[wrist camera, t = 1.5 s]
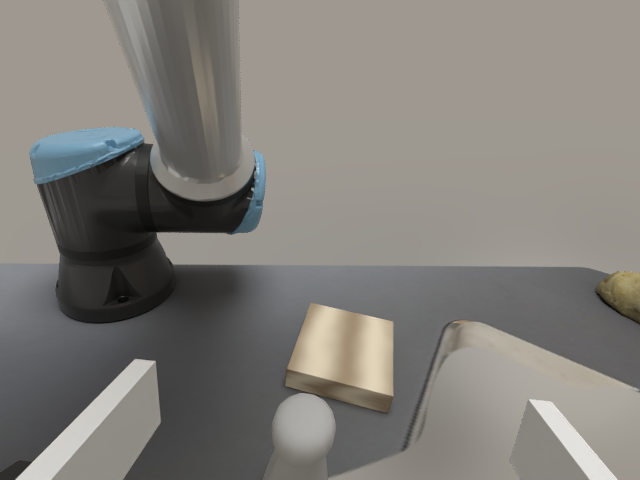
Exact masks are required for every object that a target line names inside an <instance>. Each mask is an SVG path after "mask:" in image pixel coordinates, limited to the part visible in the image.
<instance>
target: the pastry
mask: <svg viewBox="0 0 640 480" xmlns="http://www.w3.org/2000/svg"><path fill="white" fill-rule="evenodd" d="M596 292H597V293H598V294H599V295H600V297H601V298H603V300H605V302H607V303H608V304H609V305H611V306H612V307H613V308H614V309H616V310H617V311H618V312H619V313H620V314H622V315H623V316H625V317H629V318H630V319H632V320H634V321H635V322H637V323H639V324H640V273H633V272H630V271H625V272H619V271H617V272H616V273H613V274H611V275H609V276H608V277H606V278H605V279H604V280H603V281H601V282H600V284H599V285H598V287H597V290H596Z"/></svg>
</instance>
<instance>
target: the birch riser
mask: <svg viewBox="0 0 640 480" xmlns="http://www.w3.org/2000/svg"><path fill="white" fill-rule="evenodd" d="M285 386H286V387H290V388H294V389H298V390H301V391H305V392H309V393H313V394H317V395H320V396H324V397H328V398H332V399H335V400H339V401H343V402H347V403H350V404H354V405H358V406H362V407H366V408H369V409H373V410H377V411H381V412H384V413H387V412H388V410H389V407H390V404H391V401H392V398H393V322H392V321H388V320H384V319H379V318H375V317H371V316H366V315H362V314H357V313H353V312H349V311H344V310H340V309H336V308H331V307H327V306H322V305H318V304H314V303H311V304H310V307H309V310H308V312H307V315H306V318H305V321H304V323H303V326H302V329H301V332H300V334H299V337H298V340H297V343H296V345H295V348H294V351H293V354H292V356H291V359H290V362H289V364H288V367H287V373H286V383H285Z"/></svg>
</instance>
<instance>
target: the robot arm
mask: <svg viewBox="0 0 640 480" xmlns="http://www.w3.org/2000/svg"><path fill="white" fill-rule="evenodd" d="M103 2H104V5H105V7H106V10H107V12H108V15H109V18H110V20H111V23H112V25H113V28H114V31H115V33H116V35H117V38H118V41H119V44H120V46H121V49H122V52H123V54H124V56H125V59H126V62H127V64H128V67H129V70H130V72H131V75H132V78H133V80H134V83H135V86H136V88H137V91H138V93H139V96H140V98H141V101H142V104H143V106H144V109H145V112H146V114H147V117H148V119H149V122H150V125H151V127H152V130H153V133H154V135H155V138H156V140H155V142H154V144H145V143H144V137H143V136H142V134H141V132H140V131H138V130H136V129H130V128H124V127H111V128H110V127H109V128H95V129H84V130H77V131H70V132H64V133H60V134H55V135H52V136H48V137H45V138H43V139H40V140H38V141H37V142H36V143H34V144H33V146H32V147H31V149H30V160H31V164H32V169H33V174H34V183H35V184H37V187H38V190H39V192H40V196H41V198H42V201H43V204H44V207H45V210H46V213H47V216H48V219H49V222H50V225H51V228H52V231H53V234H54V237H55V240H56V243H57V246H58V249H59V252H60V263H59V278H58V281H57V284H56V296H57V299H58V302H59V305H60V307H61V309H62V311H63V312H64V313H65V314H66V315H68V316H69V317H71V318H74V319H76V320H80V321H85V322H112V321H118V320H123V319H127V318H130V317H134V316H137V315H139V314H142V313H144V312H146V311H148V310H150V309H152V308H154V307H156V306H157V305H159V304H160V303H161V302H163V301H164V300H165V299H166V298H167V297H168V296H169V295H170V294H171V292H172V291H173V289H174V287H175V282H176V280H175V272H174V267H173V264H172V263H171V261H170V260H169V259H168V258H167V257H166V254H165V252H164V250H163V248H162V246H161V244H160V242H159V241H158V239H157V234H156V232H179V233H181V232H182V233H226V234H231V235H232V234H235V233H248V232H251V231H253V230H254V229H255V228H256V227H257V225H258V223H259V221H260V218H261V214H262V208H263V199H264V193H265V180H266V174H265V173H266V172H265V160H264V157H263V155H262V154H261V153H259V152H257V151H254V150H253V149H252V146H251V144H250V143H249V141H248V139H247V138H246V137H245V136H244V135H243V134H242V133H241V90H240V46H239V1H238V0H103ZM160 423H161V418H160V406H159V395H158V383H157V371H156V361H150V360H140V359H134V360H133V361H132V362H131V363H130V364H129V365H128V366H127V367H126V369H125V370H124V371H123V372H122V373H121V374H120V375H119V376H118V377H117V378H116V379H115V380H114V381H113V382H112V383H111V384H110V385H109V386H108V387H107V388H106V389H105V390H104V391H103V392H102V393H101V394H100V395H99V396H98V397H97V398H96V399H95V400H94V401H93V402H92V403H91V404H90V405H89V406H88V407H87V408H86V409H85V410H84V411H83V412H82V413H81V414H80V415H79V416H78V417H77V418H76V419H75V420H74V421H73V422H72V423H71V424H70V425H69V426H68V427H67V428H66V429H65V430H64V431H63V432H62V433H61V434H60V435H59V436H58V437H57V438H56V439H55V440H54V441H53V442H52V443H51V444H50V445H49V446H48V447H47V448H46V449H45V450H44V451H43V452H42V453H41V454H40V455H39V456H38V457H37V458H36V459H35V460H34V461H33V462H27V461H17V462H16V463H14V464H13V465H11V466H10V467H8V468H7V469H5V470H4V471H2V472H1V473H0V480H123V479H124V477H125V476H126V474H127V473H128V471H129V470H130V468H131V467H132V465H133V464H134V462H135V461H136V459H137V458H138V456H139V455H140V453H141V452H142V450H143V449H144V447H145V446H146V444H147V443H148V441H149V440H150V438H151V437H152V435H153V434H154V432H155V431H156V429H157V428H158V426H159V424H160ZM510 463H511V464H512V466H513V468H514V470H515V472H516V473H517V475H518V477H519V479H520V480H617V479H616V477H615V476H614V475H613V474H612V473H611V472H610V470H609V469H608V468H607V467H606V466H605V464H604V463H603V462H602V461H601V460H600V459H599V457H598V456H597V455H596V454H595V453H594V451H593V450H592V449H591V448H590V447H589V445H588V444H587V443H586V442H585V441H584V440H583V438H582V437H581V436H580V435H579V434H578V432H577V431H576V430H575V429H574V428H573V427H572V425H571V424H570V423H569V422H568V421H567V419H566V418H565V417H564V416H563V415H562V414H561V412H560V411H559V410H558V409H557V408H556V407H555V405H554V404H553V403H552V402H551V401H541V400H531V399H529V400H528V402H527V406H526V409H525V412H524V415H523V419H522V422H521V425H520V429H519V432H518V435H517V438H516V442H515V445H514V448H513V452H512V455H511V458H510Z"/></svg>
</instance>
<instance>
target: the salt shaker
mask: <svg viewBox="0 0 640 480" xmlns="http://www.w3.org/2000/svg"><path fill="white" fill-rule="evenodd" d="M335 432H336V424H335V420H334V416H333V412H332V410H331V409H330V407H329V406H328V405H327V403H326V402H325V401H324V400H323V399H321V398H319V397H317V396H315V395H313V394H305V393H299V394H296V395H293V396H290V397H288V398H287V399H286V400H285V401H283V402H282V403H281V404H280V405H279V407H278V409H277V412H276V414H275V417H274V419H273V422H272V439H273V445H274V447H275V448H274V451H273V453H272V456H271V458H270V461H269V463H268V466H267V468H266V471H265V474H264V476H263V479H262V480H328V474H327V464H326V455H327V453H328V452H329V451H330V450H331V447H332V445H333V440H334V436H335Z"/></svg>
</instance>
